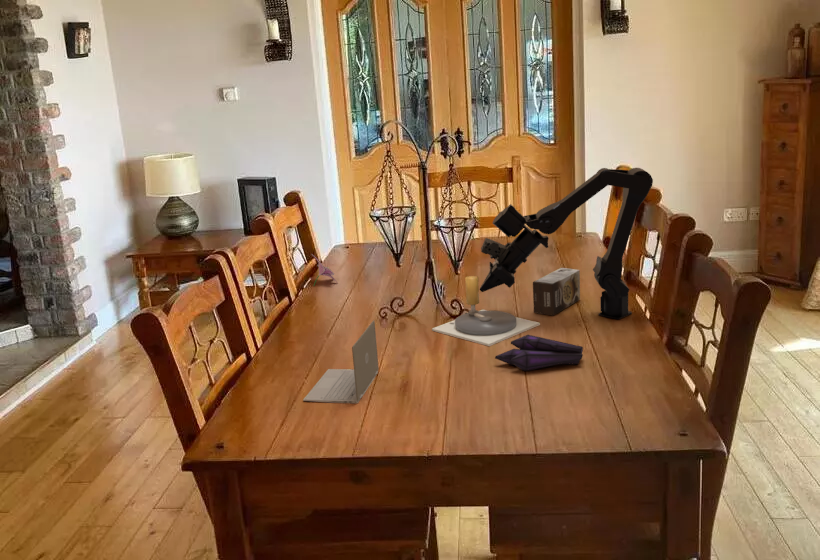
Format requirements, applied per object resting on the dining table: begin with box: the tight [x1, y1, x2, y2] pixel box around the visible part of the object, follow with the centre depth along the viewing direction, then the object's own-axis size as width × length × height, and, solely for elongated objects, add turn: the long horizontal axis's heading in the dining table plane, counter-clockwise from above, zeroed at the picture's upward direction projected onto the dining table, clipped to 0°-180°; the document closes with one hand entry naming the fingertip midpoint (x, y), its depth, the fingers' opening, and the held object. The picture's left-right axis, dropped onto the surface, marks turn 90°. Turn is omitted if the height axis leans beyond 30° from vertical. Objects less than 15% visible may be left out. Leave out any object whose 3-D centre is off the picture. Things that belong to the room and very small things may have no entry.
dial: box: [454, 275, 517, 335], centre depth 215 cm, size 16×16×12 cm
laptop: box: [302, 319, 380, 404], centre depth 183 cm, size 18×12×13 cm
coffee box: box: [532, 267, 581, 316], centre depth 229 cm, size 9×6×16 cm
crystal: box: [494, 334, 584, 372], centre depth 189 cm, size 7×12×20 cm
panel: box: [431, 309, 541, 347], centre depth 217 cm, size 20×20×1 cm
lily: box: [312, 254, 338, 286], centre depth 270 cm, size 12×12×10 cm
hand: (480, 290), depth 220 cm, fingers closed
